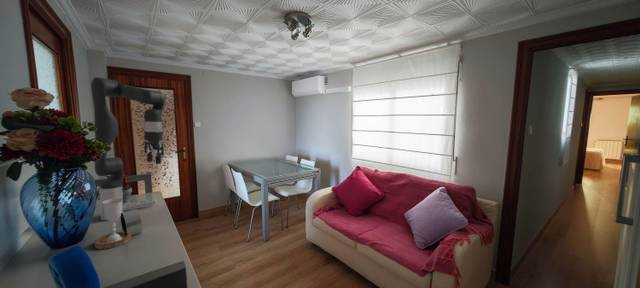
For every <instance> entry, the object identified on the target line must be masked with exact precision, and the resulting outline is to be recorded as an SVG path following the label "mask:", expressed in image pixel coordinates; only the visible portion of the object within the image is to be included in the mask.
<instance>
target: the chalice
mask: <svg viewBox="0 0 640 288" xmlns="http://www.w3.org/2000/svg"><path fill="white" fill-rule="evenodd" d="M122 201H124V199H120V198H116V199H108V200H105V201H103V202H102V203H103V204H104V214H105V216H106V217H107V219H108V220H107V221H109V222H110V223H111V227H112V229H111V233H112V232H113V233H112V235H110V236H109V238H108V240H107V243H109V242H115V241H118V240H121V239H122V238H121V237H120V236H119V234H116V233H115V232H116V230H117V228H116V226H117V224H116V222H117V221H118V220H119V219H120V218H119V216H120V214H121V212H122Z"/></svg>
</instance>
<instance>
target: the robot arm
mask: <svg viewBox="0 0 640 288" xmlns="http://www.w3.org/2000/svg"><path fill="white" fill-rule="evenodd" d="M90 83H91V85H90V86H91V87H90V90H91V95H92V103H93V111H94V113H93V115H94V128H95V127H96V128H97V130H96V131H95V130H94V138H95V141H96V140H97V141H99V142H102V143H107V144H108V145H109V146H110V147H111V145H112V144H113V143H114V141H115V140H116V138H117V137H118V135H119V122H118V120H117V118H116V117H115V115H114V113H113V112H112V111H111V110H110V108H109V106H108V104H107V101H106V98H107V97H110V98H118V97H119V98H120V97H121V98H123V97H124V98H126V99H128V100H130V101H134V102H139V103H141V104H145V105H151V106H152V107H151V108H150V109H145V110H144V112H143V113H144V116H143V117H144V121H143V122H144V123H143V124H144V125H143V134H144V135H143V139H144V151H143V152H144V153H145V154H146V161H147V163H151V162H153V161H154V159H153V155H154V156H155V165H159V164H161V163H162V156H164V153H165V151H164V143H163V142H160V141H162V140H163V139H164V138H163V124H162V122H163V120H162V117H163V116H162V113H163V110H164V108H165V103H166V97H165V94H164V93H163V92H161V91H158V90H151V89H146V88H142V87H139V86H138V87H137V86H133V85H128V84H127V85H126V84H124V83H122V82H119V81H117V80H114V79H111V78H104V77H99V76H98V77H93V79H92V81H91V82H90ZM153 153H154V154H153ZM107 156H108V151H107V152H105V153H103V155H102V156H101V159H100V160H98V161H97V162H95V161H94V170H95V173H96V175H97V176H99V177H104V176H110V177H108V178H107V179H105V180H102V181H101V182H100V183H99V197H100V198H99V200H100V201H99V203H100V219H101V221H109V220H108V219H107V217H106V216H105V214H104V204H103V203H102V202H103V201H105V200H108V199H116V198H120V199H123V198H124V196H123V182H124V161H123V160H122V158H121V157H117V156H115V157H107ZM123 201H124V199H123ZM123 201H122V212H121V213H123V214H124V202H123ZM120 216H121V214H120ZM120 216H119V218H118V219H120V218H121V217H120Z"/></svg>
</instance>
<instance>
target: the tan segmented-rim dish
mask: <svg viewBox="0 0 640 288" xmlns="http://www.w3.org/2000/svg"><path fill="white" fill-rule="evenodd" d="M124 231H125V230H119V231H118V230H117V231H115V233H116V234H119V236H120V237H121V238H122V239H121V240H118V241H115V242H109V243H107V240H108V238H109V236H110V235H112V233H113V232H112V231H111V232H109V233H106V234H102V235H101V236H98V237H96V239H95V240H94V242H93V244H94V246H95V249H98V250H99V249H101V250H106V249H112V248H116V247H118V246H122V245H124V244H126V243H129V242H130V240H131V238H132V232H130V233H128V235H127V236H126V235H125V232H124Z"/></svg>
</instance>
